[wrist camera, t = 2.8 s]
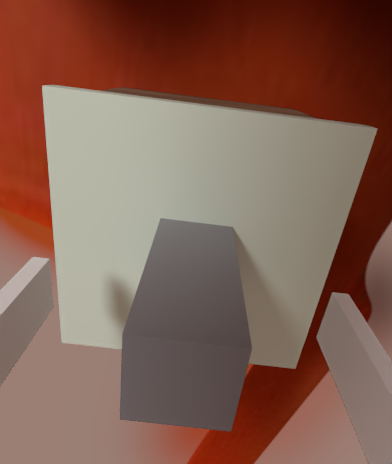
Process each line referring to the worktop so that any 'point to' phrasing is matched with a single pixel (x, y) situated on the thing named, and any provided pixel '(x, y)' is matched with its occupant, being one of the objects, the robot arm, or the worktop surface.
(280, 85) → the worktop surface
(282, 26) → the worktop surface
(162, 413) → the lid
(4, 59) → the worktop surface
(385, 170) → the worktop surface
